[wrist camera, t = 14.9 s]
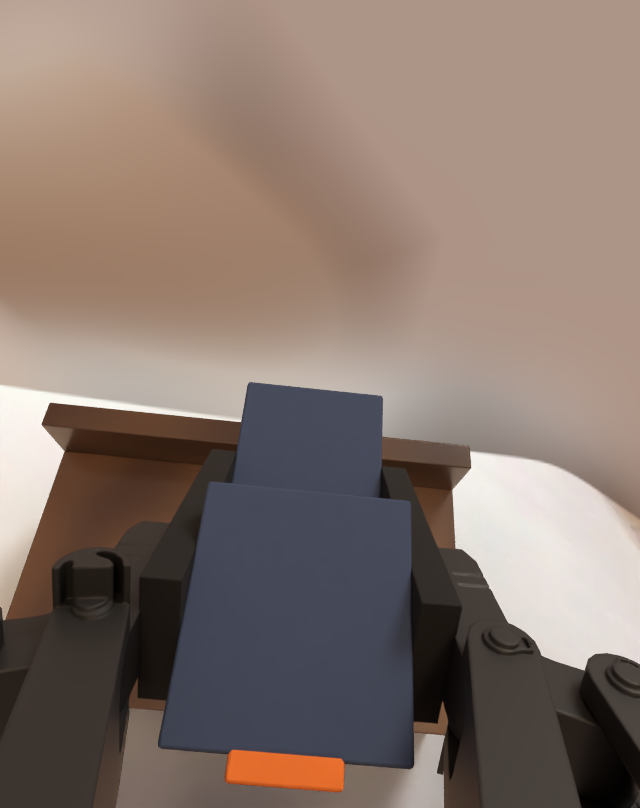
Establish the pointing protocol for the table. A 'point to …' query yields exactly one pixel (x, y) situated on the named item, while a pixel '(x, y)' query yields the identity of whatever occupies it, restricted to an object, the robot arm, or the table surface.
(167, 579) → the robot arm
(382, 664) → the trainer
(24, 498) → the table surface
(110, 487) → the shoe shelf
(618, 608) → the table surface
